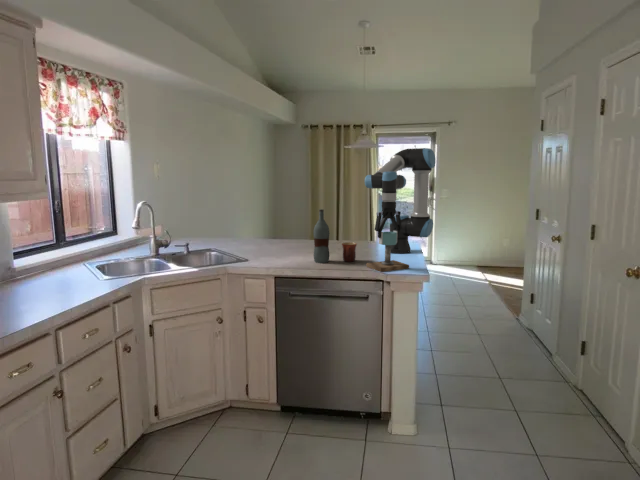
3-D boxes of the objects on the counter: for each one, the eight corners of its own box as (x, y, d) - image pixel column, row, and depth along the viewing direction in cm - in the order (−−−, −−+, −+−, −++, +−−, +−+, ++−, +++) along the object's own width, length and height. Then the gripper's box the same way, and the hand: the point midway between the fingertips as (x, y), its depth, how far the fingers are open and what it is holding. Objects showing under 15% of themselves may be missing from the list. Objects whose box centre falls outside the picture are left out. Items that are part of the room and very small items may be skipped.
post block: (393, 263, 255) (394, 240, 252) (409, 268, 242) (409, 244, 240) (366, 266, 247) (366, 243, 245) (380, 272, 234) (381, 247, 232)
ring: (390, 242, 248) (390, 231, 247) (399, 244, 240) (399, 233, 239) (376, 243, 244) (377, 232, 243) (385, 245, 237) (386, 234, 236)
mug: (342, 259, 267) (342, 242, 265) (357, 259, 265) (357, 242, 263) (339, 263, 255) (339, 245, 254) (355, 264, 253) (355, 246, 252)
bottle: (326, 263, 254) (326, 210, 250) (311, 262, 258) (310, 210, 253) (331, 260, 263) (331, 209, 258) (316, 259, 266) (316, 208, 261)
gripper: (401, 200, 247) (400, 241, 250) (367, 201, 237) (367, 243, 241) (409, 200, 240) (408, 243, 244) (375, 202, 231) (374, 245, 234)
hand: (387, 243), depth 242 cm, fingers closed on ring, 8 cm apart
